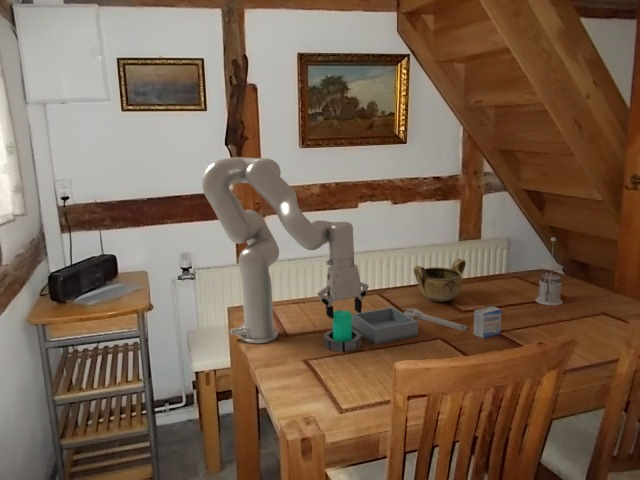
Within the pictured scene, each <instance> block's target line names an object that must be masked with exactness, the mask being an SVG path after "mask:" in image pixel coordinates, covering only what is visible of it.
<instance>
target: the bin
mask: <svg viewBox="0 0 640 480" xmlns="http://www.w3.org/2000/svg"><path fill="white" fill-rule="evenodd" d="M351 314H352V329H354V330H356V331H358V332H359V333H360V334H362V337H364V338H365V339H367V340H368V341H369V342H371V343H372V344H373V345H380V344H384V343H385V344H386V343H389V342H394V341H398V340H399V341H401V340H403V339H404V340H405V339H409V338H415V337H418V336H419V335H418V333H419V332H418V330H419V322H418V320H416V319H413V318H411V317H409V316H407V315H406V314H404V312H402V311H400V310H399V309H397V308H396V307H393V306H390V307H384V308H378V309H373V310H367V311H361V313H358V312H356V313H351Z"/></svg>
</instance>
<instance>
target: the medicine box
mask: <svg viewBox="0 0 640 480" xmlns="http://www.w3.org/2000/svg"><path fill="white" fill-rule="evenodd" d="M473 312H474V313H473V335H474V336H476V337H479V338H480V339H483V340H484V339H487V338H490V337H494V336H497V335H498V336H499V335H500V334H501V329H502V327H501V326H502V309H501V308H499V307H496V306H493V305H491V306H487V307H483V308H479V309H475V310H474V311H473Z"/></svg>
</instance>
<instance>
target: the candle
mask: <svg viewBox="0 0 640 480" xmlns="http://www.w3.org/2000/svg"><path fill="white" fill-rule="evenodd" d="M333 314H334V318H333V319H332V330H333V340H339V341H346V340H351V339H352V329H353V328H352V314H353V313H352V312H350V311H349V310H342V309H338V310H335V311H333Z"/></svg>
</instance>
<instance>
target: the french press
mask: <svg viewBox="0 0 640 480" xmlns="http://www.w3.org/2000/svg"><path fill="white" fill-rule="evenodd" d="M550 241H552V244H554V242H556V241H557V238H556V237H551V238H550ZM553 253H554V247H552V251H551V258H554V257H553V255H554V254H553ZM539 267H540V269H542V270H546V271H550V273H548V272H545V273H544V274H541V275H540V278H539V281H538V283H539V284H538V297H536V298H535V299H534V301H535V302H536V303H538V304H541V305H544V306H560V305H562V304H563V303H564V302H563V301H562V299H561V292H562V287H561V286H562V280H561V278H562V277H561V276H559V275H558V274H557V275H556V274H553V273H552V271H553V272H554V271H561V270H562V269H564V267H563V266H562V265H561V264H559V263H557V262H553V261H549V262H543V263H541V264H540V265H539Z"/></svg>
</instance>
